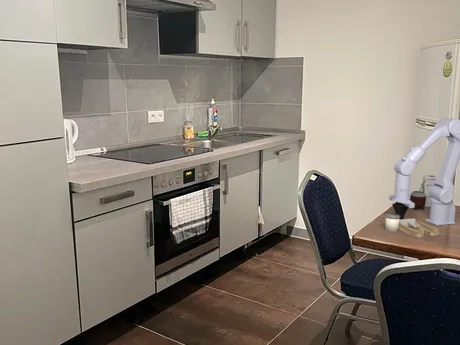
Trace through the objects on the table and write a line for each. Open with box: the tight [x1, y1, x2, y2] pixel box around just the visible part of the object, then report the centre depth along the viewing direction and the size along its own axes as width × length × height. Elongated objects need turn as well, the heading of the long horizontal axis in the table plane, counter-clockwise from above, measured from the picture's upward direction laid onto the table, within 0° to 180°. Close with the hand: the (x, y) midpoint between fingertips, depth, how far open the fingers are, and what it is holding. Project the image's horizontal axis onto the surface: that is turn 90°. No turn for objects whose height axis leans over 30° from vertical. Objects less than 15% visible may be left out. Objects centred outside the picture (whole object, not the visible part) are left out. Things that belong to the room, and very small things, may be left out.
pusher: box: [399, 218, 418, 229], centre depth 187 cm, size 7×6×3 cm
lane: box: [398, 219, 440, 238], centre depth 184 cm, size 10×15×3 cm
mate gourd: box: [409, 180, 427, 211], centre depth 216 cm, size 8×8×15 cm
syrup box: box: [421, 174, 438, 208], centre depth 222 cm, size 6×6×14 cm
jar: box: [384, 212, 400, 233], centre depth 185 cm, size 5×5×6 cm
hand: (399, 220), depth 194 cm, fingers closed
